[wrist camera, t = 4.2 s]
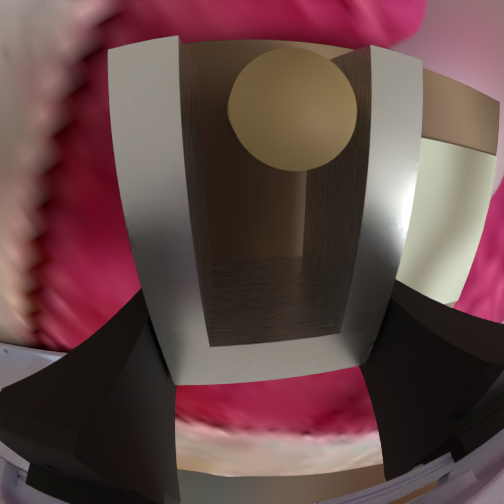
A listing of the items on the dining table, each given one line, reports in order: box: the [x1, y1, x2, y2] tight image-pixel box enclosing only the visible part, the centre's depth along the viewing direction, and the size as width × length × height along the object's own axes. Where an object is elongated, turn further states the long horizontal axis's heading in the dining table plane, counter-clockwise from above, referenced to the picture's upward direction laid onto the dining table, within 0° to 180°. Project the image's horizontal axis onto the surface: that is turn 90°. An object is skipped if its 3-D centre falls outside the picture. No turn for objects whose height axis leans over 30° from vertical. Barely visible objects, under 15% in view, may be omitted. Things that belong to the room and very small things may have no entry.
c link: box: [108, 36, 423, 385], centre depth 7 cm, size 8×6×4 cm
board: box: [184, 40, 500, 308], centre depth 8 cm, size 16×13×6 cm
